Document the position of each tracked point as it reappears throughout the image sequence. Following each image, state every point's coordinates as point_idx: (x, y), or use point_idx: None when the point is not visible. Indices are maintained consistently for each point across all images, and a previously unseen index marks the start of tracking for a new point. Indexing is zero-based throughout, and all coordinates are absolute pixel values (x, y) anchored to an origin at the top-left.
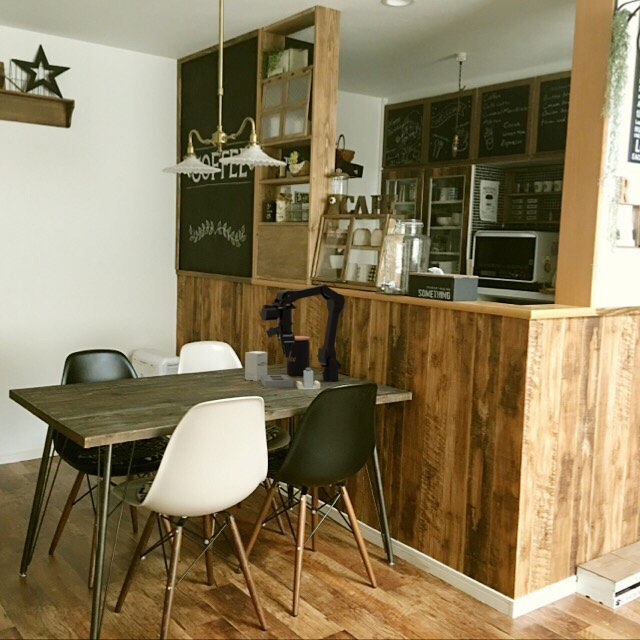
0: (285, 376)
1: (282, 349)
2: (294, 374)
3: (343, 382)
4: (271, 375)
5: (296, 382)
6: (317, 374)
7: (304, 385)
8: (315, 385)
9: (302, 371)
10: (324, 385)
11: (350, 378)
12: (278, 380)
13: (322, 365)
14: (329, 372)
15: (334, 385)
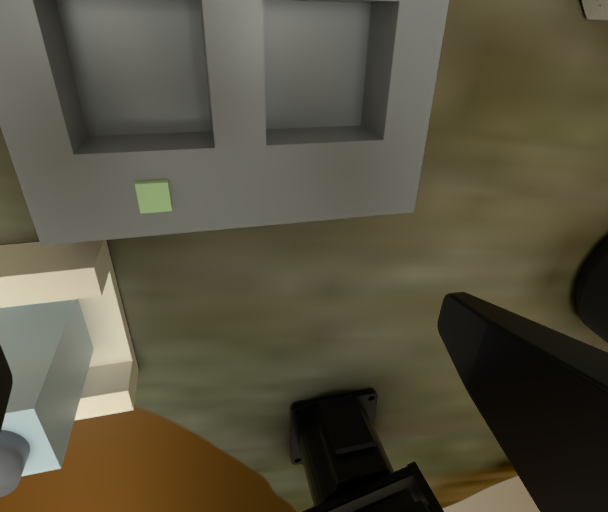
0: (320, 183)
1: (521, 343)
2: (604, 251)
3: None
4: (419, 34)
5: (91, 261)
6: None
7: (13, 314)
8: None
9: (595, 308)
10: (229, 401)
11: None
12: (22, 73)
13: (414, 478)
14: (316, 481)
15: (224, 443)
